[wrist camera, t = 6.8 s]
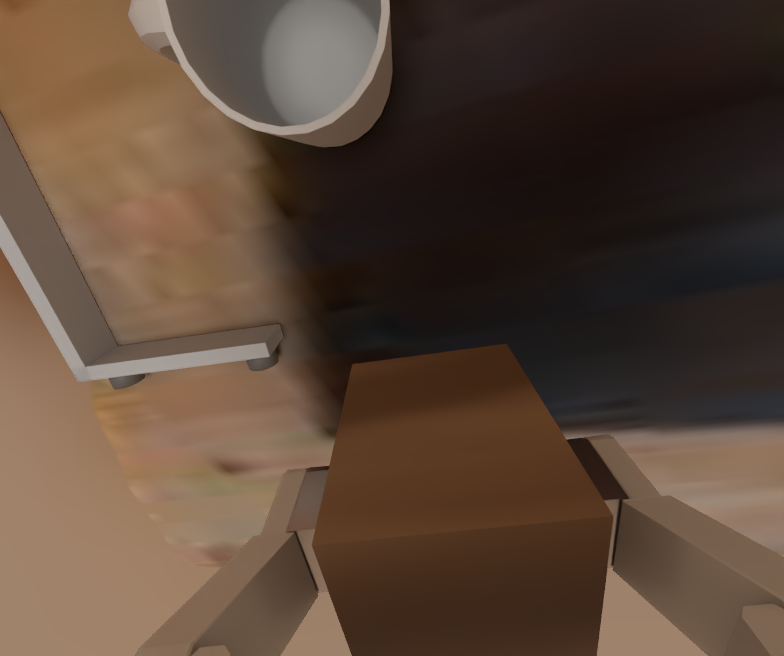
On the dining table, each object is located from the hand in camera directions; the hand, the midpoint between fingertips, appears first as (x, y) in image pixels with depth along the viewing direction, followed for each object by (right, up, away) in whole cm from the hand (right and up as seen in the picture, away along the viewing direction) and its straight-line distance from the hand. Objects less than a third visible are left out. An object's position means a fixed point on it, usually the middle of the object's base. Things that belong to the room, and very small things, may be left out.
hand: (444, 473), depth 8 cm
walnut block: (0, +1, +2) cm, 2 cm away
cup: (-6, +17, +11) cm, 21 cm away
